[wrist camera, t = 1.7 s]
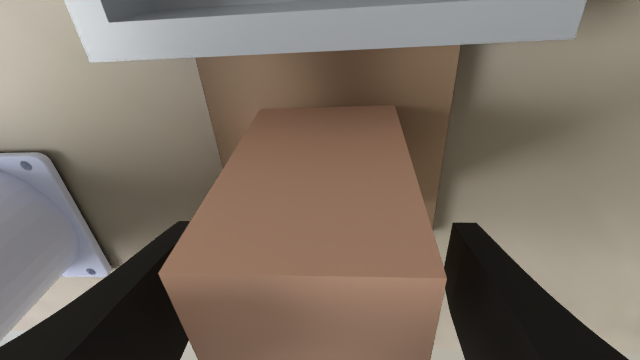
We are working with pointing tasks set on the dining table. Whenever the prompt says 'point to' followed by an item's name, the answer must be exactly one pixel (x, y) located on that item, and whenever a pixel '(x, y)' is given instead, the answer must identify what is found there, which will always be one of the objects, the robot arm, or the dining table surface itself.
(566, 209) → the dining table surface
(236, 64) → the stud plate
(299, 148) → the salmon brown block
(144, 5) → the bin
